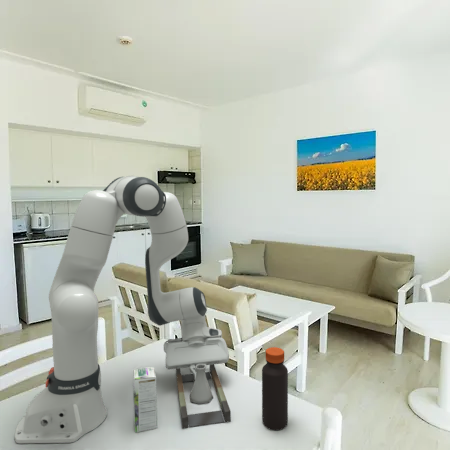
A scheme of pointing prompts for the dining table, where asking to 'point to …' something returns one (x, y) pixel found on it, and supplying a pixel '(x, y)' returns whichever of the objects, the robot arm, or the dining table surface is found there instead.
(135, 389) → the syrup box
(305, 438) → the dining table surface
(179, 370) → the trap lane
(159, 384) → the dining table surface
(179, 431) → the dining table surface
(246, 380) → the dining table surface
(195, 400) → the flask
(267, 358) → the bottle
